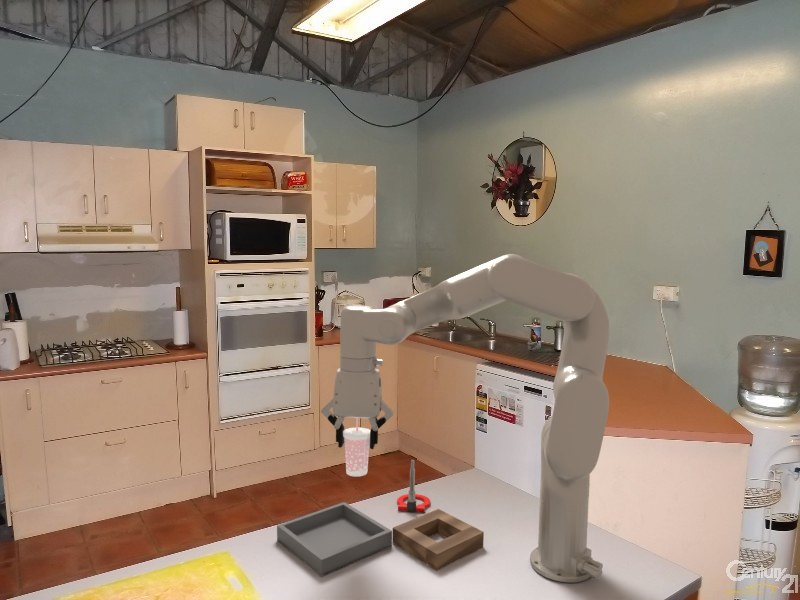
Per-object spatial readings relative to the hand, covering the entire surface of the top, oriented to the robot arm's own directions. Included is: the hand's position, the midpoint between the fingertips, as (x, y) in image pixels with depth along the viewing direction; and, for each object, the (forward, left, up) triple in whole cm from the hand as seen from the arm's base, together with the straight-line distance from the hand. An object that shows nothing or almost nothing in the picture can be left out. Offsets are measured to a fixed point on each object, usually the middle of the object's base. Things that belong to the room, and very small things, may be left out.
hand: (356, 445), depth 125 cm
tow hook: (+6, -22, -23) cm, 32 cm away
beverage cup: (0, 0, -6) cm, 6 cm away
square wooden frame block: (-12, -13, -22) cm, 28 cm away
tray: (+3, +4, -22) cm, 23 cm away
